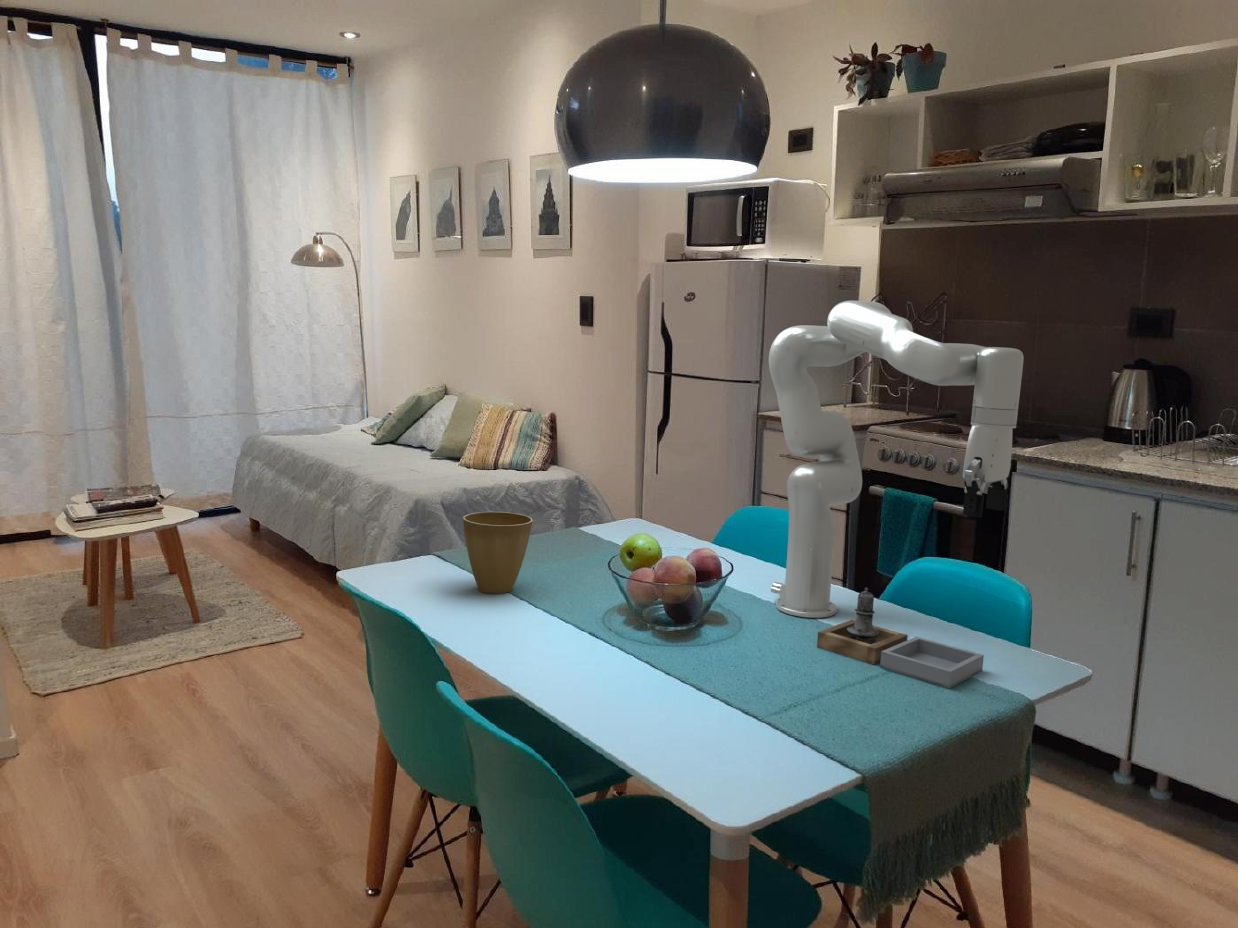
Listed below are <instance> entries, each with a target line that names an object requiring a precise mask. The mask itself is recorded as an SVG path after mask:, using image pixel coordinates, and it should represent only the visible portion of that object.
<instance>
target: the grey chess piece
mask: <svg viewBox="0 0 1238 928" xmlns="http://www.w3.org/2000/svg"><path fill="white" fill-rule="evenodd" d="M874 600H875V597H874V594H873V593H872V592H869V588H868V586H866V587H865V588H864V590H863V591H861V592H859V593H858V596H857V605H856V608H855V609H854V612H855V613H856V614H855V624H854V626H850V627H848V628H847V630H848V632H849V637H850V638H851V639H854V640H858V641H861V642H864V643H868V644H871V645H872V644H873V643H874V642H875V641H876V639H877V635H879V631H878V630H876V629H874V628H873V626H874V625H873V619H874V618H873V617H874V616H873V615H874V614H876V613H875V611H874Z"/></svg>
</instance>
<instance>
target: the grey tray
mask: <svg viewBox="0 0 1238 928" xmlns="http://www.w3.org/2000/svg"><path fill="white" fill-rule="evenodd" d="M984 656H985V655H984V654H982V653H977V652H974V651H971V650H967V649H964V648H960V647H955V646H952V645H948V644H945V643H942V642H938V641H935V640H934V641H933V640H930V639H927V638H923V637H919V636H915V637H912V638H909V639H907V641H905V642H902V643H900V644H898V645H895V646H893V647H891V648H888V649H886V650H884V651H881V661H880V662H879V663H880V664H879V668H880V669H883V670H887V671H890V672H893V673H896V674H900V675H903V676H906V677H909V678H912V679H915V680H919V681H922V682H926V683H929V684H933V685H935V686H939V687H942V688H945V689H951V688H953V687H955V686H956V685H959V684H961V683H962V681H963V682H964V680H965V681H966V680H968V679H970V678H972V677H974V676H976V675H978V674H980V673H981V672H983V667H984V658H985V657H984ZM960 682H961V683H960ZM958 683H959V684H958Z"/></svg>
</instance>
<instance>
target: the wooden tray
mask: <svg viewBox="0 0 1238 928" xmlns="http://www.w3.org/2000/svg"><path fill="white" fill-rule="evenodd" d="M855 621H856V619H855V620H854V619H850V620H847V621H844V622H842V623H839V624H836V625H833V626H830V627H828V628H825V629H822V630H819V631H818V632H817V641H816V642H817V643H816V648H819V649H821V650H822V649H823V650H825V651H828V652H831V653H835V654H837V655H841V656H844V657H848V658H851V659H854V660H857V661H861V662H863V663H867V664H870V665H877V664H879V663H880V661H881V651H884V650H886V649H888V648H891V647H893V646H895V645H898V644H900V643H902V642H905V641H907V640H908V636H909V635H908V634H906V633H902V632H898V631H896V630H895V631H894V630H891V629H888V628H883V627H881V626H876V625H873V628H874V629H876V630H878V631H879V635H877V639H876V641H875V642H874V643H875V644H868V643H864V642H861V641H858V640H854V639H851V638H850V637H849V632H848V630H847V628H848V627H850V626H854V624H855Z"/></svg>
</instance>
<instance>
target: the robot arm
mask: <svg viewBox="0 0 1238 928" xmlns="http://www.w3.org/2000/svg"><path fill="white" fill-rule="evenodd" d="M826 322H827V325H813V324H812V325H809V324H807V325H804V324H802V325H795V326H794V325H792V326H791V327H787V328H785V329H784V330H782V331H781V332H780V333H778V335H777V336H776V337H775V338H774V340H773V342H772V343H771V347H770V349H769V354H768V368H769V373H770V378H771V380H772V383H773V387H774V390H775V393H776V397H777V404H778V410H779V415H780V419H781V425H782V432H783V436H784V440H785V445H786V447H787V448H788V451H789V452H790V454H793V456H798V457H803V458H805V457H806V458H807V457H808V458H809V457H818V456H819V460H820V461H811V462H806V463H803V464H800V465H798V466H796V468H794V469H793V470H792V471H791V473H790V474H789V476H788V479H787V482H786V496H787V500H788V501H787V502H788V512H789V513H788V519H789V520H788V532H787V533H788V535H787V536H788V538H787V540H788V541H787V550H786V551H787V552H786V553H787V555H786V568H785V583H782V582H778V581H774V582H772V585H771V587H770V592H771V593H773V594H778V595H779V598H778V599H777V600H776V608H777V610H779V611H780V612H782V613H785V614H787V615H790V616H795V617H801V618H810V619H811V618H812V619H813V618H815V619H816V618H818V619H820V618H828V617H832V616H834V615H835V614H836V613H837V610H838V609H837V605H836V604H835V603H833V602H831V587H832V574H833V563H834V562H833V561H834V550H835V549H834V547H835V534H836V533H835V531H836V530H835V529H836V528H835V520H834V518H833V515H832V512H831V507H833V506H839V505H845V504H849V503H851V502H854V501H855V500H856V499H857V498H858V496H860V494H861V491H862V488H863V474H862V467H861V464H860V463H861V462H860V459H859V454H858V448H857V444H856V438H855V434H854V430H853V427H852V425H851V423H850V422H849V420H848V419H847V417H846V416H844V415H843V414H842V413H840V412H838V411H835V410H823V409H822V407H821V403H820V402H821V401H820V397H819V391H818V388H817V385H816V383H815V382H814V380H813V378H812V376H810V374H809V373H808V371H807V368H809V367H815V368H816V367H826V368H827V367H836V366H837V367H838V366H840V365H843V364H845V363H847V362H849V361H851V360H853V359H855V358H857V357H858V356H860V355H862V354H864V353H868V354H870V355H872V356H875V357H878V358H881V359H882V360H885V361H887V362H888V364H889V365H891V366H892V368H894V369H895V370H897V371H899V372H901V373H902V374H905V375H907V376H910V377H912V378H915V379H917V380H920V381H922V382H925V383H928V384H931V385H934V386H940V387H944V386H945V387H948V386H949V387H950V386H959V387H960V386H974V387H973V388H974V390H973V399H972V406H971V407H972V408H971V409H972V410H971V419H970V425H971V427H970V430H969V435H968V439H967V444H966V449H965V453H964V454H965V455H964V461H963V469H962V478H963V480H964V482H963V483H964V486H965V487H964V490H963V492H964V499H963V509H962V514H963V516H966V517H967V516H968V517H972V518H978V519H979V518H982V516H983V509H984V501H985V495H984V494H983V492H984V489H985V488H986V485H987V484H989V486H987V494H986V502H985V508H986V509H988V510H992V511H997V512H1003V511H1005V507H1006V506H1005V505H1006V496H1007V488H1008V479H1009V478H1010V470H1011V468H1012V467H1011V466H1012V463H1011V462H1012V452H1013V429H1016V428H1017V421H1018V412H1019V403H1020V395H1021V387H1022V378H1023V370H1024V369H1023V367H1024V354H1023V352H1022V351H1021V350H1020V349H1018V348H1014V347H1013V348H1012V347H996V346H988V347H987V346H984V345H978V344H973V343H972V344H971V343H955V342H954V343H953V342H949V343H948V342H946V343H945V342H944V343H943V342H940V341H936V340H933V339H931V338H928V337H926V336H923V335H920V334H918V333H916V332H914V329H913V325H912V323H911V322H910V321H909V320H908V319H907V318H904V317H902V316H899V315H897V314H894V313H893V314H892V312H891V310H890V309H889V308H888V307H886V306H885V305H884V304H882V303H880V302H876V301H866V300H845V301H842V302H839V303H837V304H836V305H835V306H834V307H832V309H831V310H830V311H829V313H828V316H827V320H826Z"/></svg>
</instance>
